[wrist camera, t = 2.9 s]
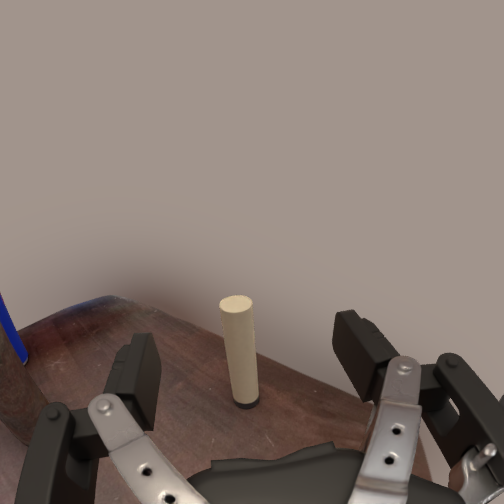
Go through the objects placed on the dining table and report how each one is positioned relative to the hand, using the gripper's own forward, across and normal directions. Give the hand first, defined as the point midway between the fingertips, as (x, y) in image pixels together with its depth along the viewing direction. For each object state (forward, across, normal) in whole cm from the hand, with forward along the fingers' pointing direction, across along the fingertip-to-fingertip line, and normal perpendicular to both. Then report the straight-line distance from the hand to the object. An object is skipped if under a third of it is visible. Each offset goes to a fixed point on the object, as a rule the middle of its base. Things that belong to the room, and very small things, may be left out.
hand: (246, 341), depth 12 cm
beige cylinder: (+11, 0, +18) cm, 21 cm away
